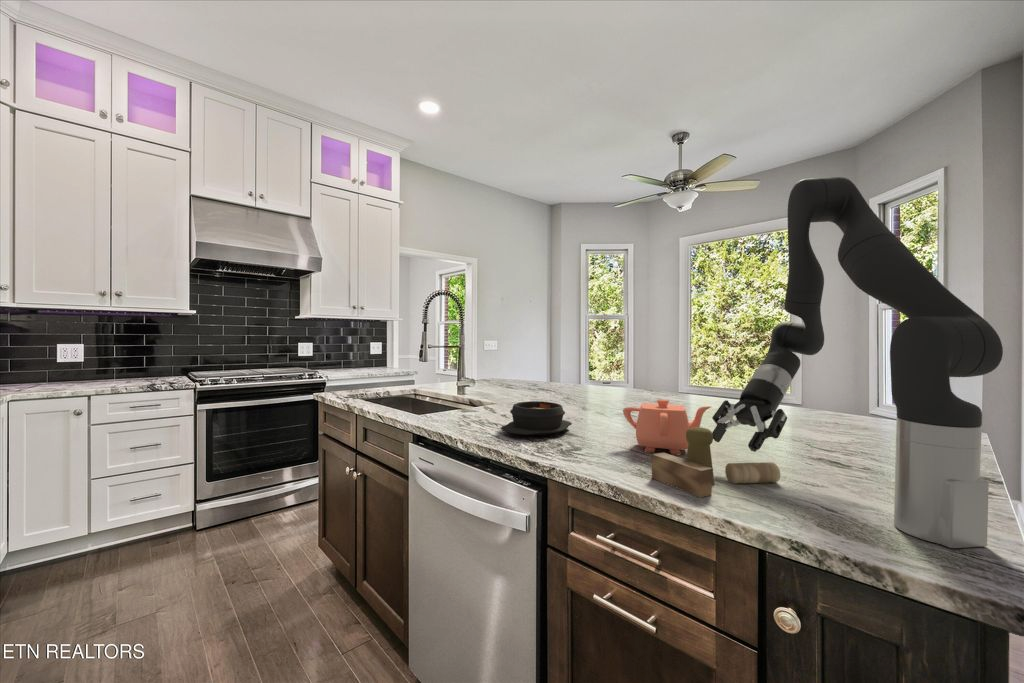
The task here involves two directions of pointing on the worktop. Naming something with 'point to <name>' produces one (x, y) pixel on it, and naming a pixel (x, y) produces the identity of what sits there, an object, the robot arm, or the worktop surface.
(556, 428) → the casserole
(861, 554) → the worktop surface
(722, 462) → the worktop surface
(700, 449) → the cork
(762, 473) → the roller
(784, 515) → the worktop surface
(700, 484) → the block
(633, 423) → the teapot
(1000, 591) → the worktop surface
